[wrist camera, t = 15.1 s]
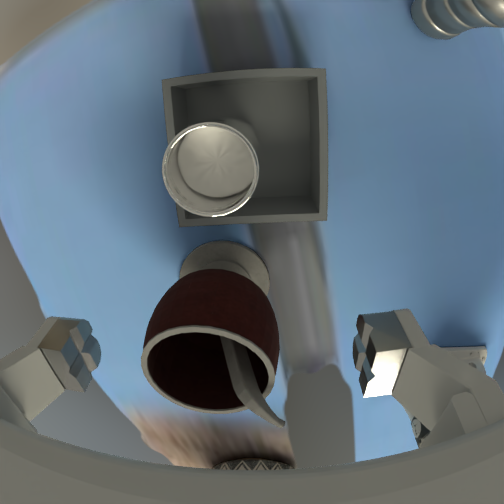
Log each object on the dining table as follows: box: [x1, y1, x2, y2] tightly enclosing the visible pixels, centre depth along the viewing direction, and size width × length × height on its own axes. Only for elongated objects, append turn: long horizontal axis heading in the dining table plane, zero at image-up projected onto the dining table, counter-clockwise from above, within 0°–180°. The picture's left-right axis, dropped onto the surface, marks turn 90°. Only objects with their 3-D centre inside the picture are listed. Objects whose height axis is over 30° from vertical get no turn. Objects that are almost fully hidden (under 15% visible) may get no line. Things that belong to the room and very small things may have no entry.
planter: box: [212, 458, 294, 470], centre depth 61 cm, size 26×26×22 cm
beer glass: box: [162, 116, 262, 217], centre depth 27 cm, size 7×7×15 cm
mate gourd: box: [141, 241, 285, 428], centre depth 34 cm, size 16×14×20 cm
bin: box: [162, 68, 328, 227], centre depth 31 cm, size 15×15×7 cm
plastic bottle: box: [411, 0, 504, 40], centre depth 16 cm, size 6×7×20 cm
